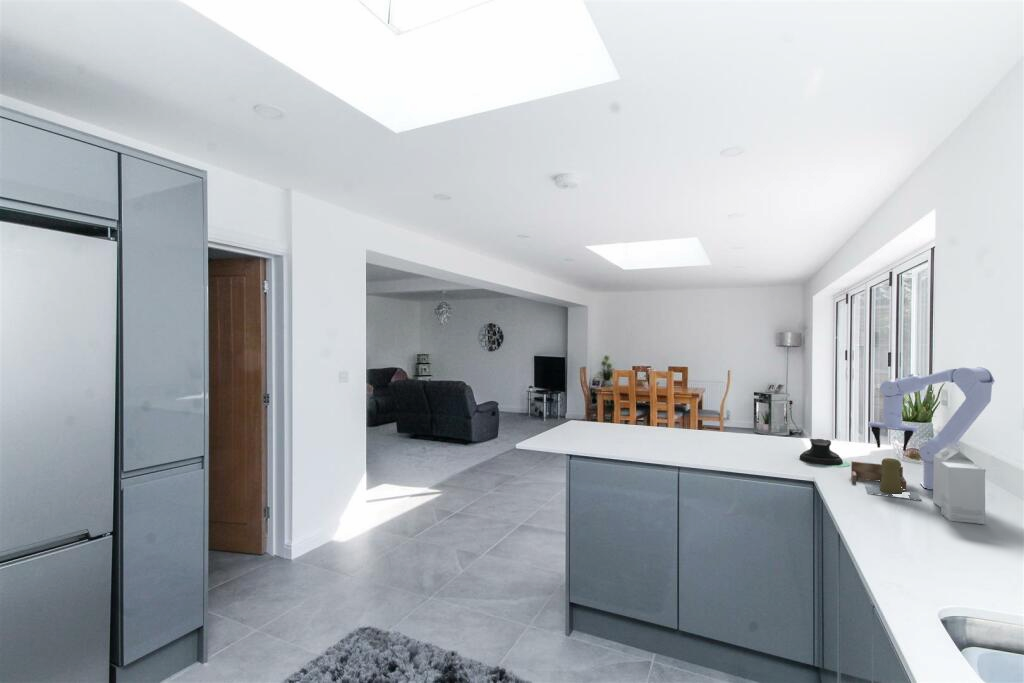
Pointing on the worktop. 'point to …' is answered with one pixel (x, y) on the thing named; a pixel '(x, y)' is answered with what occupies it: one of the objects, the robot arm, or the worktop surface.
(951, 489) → the skincare box
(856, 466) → the walnut bay
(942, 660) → the worktop surface
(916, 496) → the slate mat
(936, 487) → the milk carton
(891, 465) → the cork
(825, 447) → the black knob handle
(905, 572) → the worktop surface
